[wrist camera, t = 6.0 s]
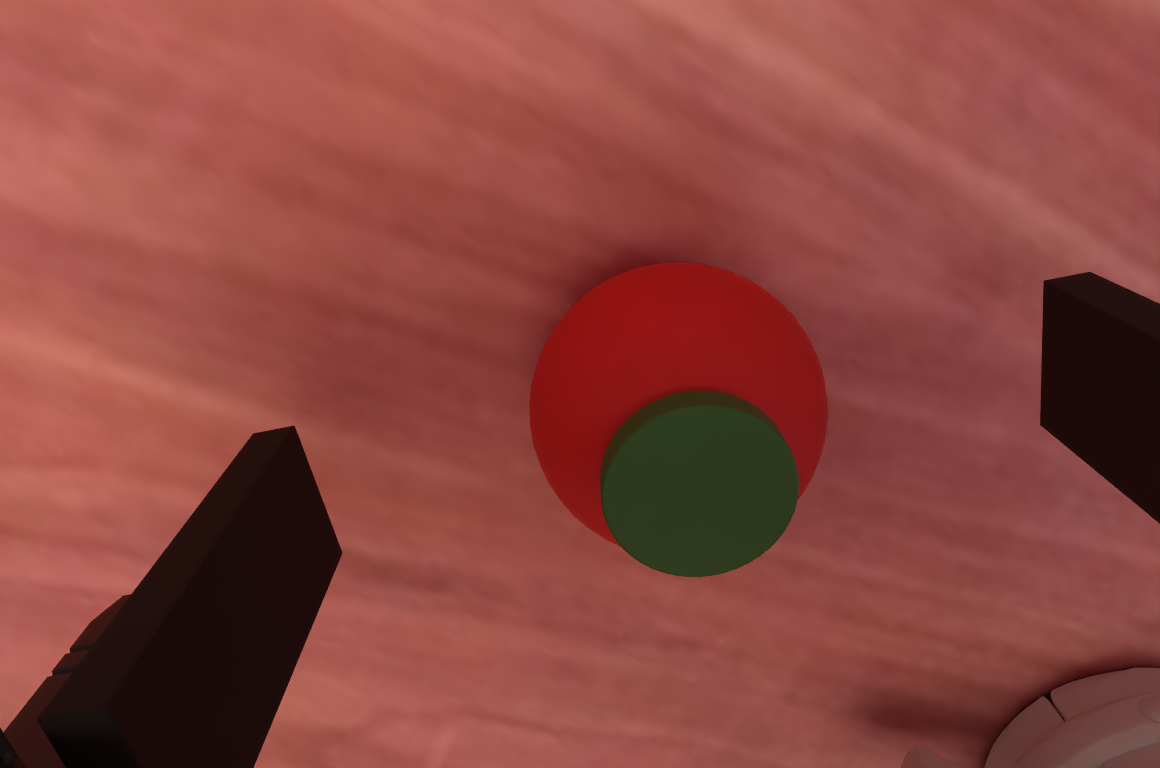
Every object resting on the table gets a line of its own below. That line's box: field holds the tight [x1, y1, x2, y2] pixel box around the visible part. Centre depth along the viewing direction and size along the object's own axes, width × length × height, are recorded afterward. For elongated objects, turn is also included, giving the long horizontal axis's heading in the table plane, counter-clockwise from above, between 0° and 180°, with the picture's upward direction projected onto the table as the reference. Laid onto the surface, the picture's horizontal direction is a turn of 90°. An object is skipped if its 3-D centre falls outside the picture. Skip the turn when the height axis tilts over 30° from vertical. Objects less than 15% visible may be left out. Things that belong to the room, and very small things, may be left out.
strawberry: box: [530, 262, 828, 577], centre depth 15 cm, size 5×5×6 cm
